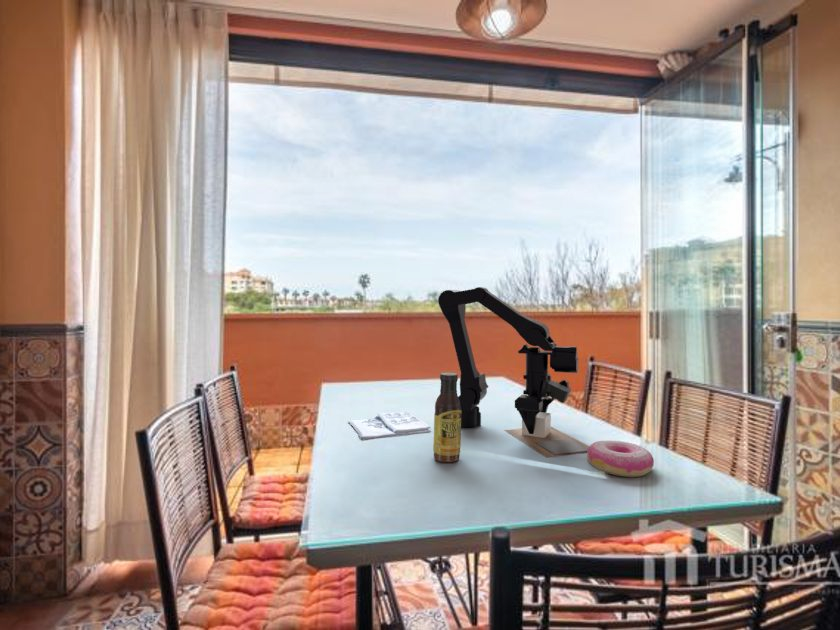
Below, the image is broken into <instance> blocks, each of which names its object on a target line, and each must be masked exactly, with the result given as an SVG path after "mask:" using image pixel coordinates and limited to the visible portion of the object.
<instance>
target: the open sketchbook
mask: <svg viewBox="0 0 840 630" xmlns="http://www.w3.org/2000/svg"><path fill="white" fill-rule="evenodd" d="M348 422H349V423H350V424H351V425H352V426H353V427H352V428H353V429H354V430H355V432H356V433H357V434H358V437H359V436H360V437H359V439H360V440H362V439H364V440H371V438H372V439H379V438H389V437H397V435H399V436H408V435H415V434H417V435H418V434H427V433H431V430H430V429H431V425H429V424H427V423H426V422H424V421H422V420H421V419H419V418H417V417H416V416H415V415H413V414H411V413H410V412H407V411H406V412H405V411H403V412H402V411H401V412H391V413H387V412H386V413H377V415H376V416H375V417H374V418H369V419H368V418H367V419H359V420H355V419H350V420H348V421H347V423H348ZM349 423H348V424H349ZM350 424H349V425H350ZM351 425H350V426H351ZM382 425H386V426H385V427H384V426H383V427H384V428H383V427H381V426H382ZM386 427H387V428H386Z"/></svg>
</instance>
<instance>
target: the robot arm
mask: <svg viewBox="0 0 840 630" xmlns="http://www.w3.org/2000/svg"><path fill="white" fill-rule="evenodd" d="M437 301H438V302H437V303H438V305H439V309H440V311H441V312H442V316H444V318H445V319H446V321H447V323H448V324H449V330H450V333H451V337H452V341H453V345H454V349H455V353H456V359H457V362H458V367H459V371H460V377H459V393H460V395H459V396H458V398H459V401H460V406H461V429H466V430H467V429H470V430H471V429H475V428H477V427H481V426H482V413H481V412H480V407H479V406H478V405H480V403H481V400H483V399H484V398H485V397H486V395H487V393H488V391H487V389H488V388H489V385H488V384H487V379H486V374H485V373H481V374H480V372H479V370H478V369H477V366H476V361H475V357H474V354H473V349H472V345H471V342H470V337H469V336H470V335H469V333H468V329H467V325H466V320H465V319H466V305H470V304H473V303H479V304H480V305H482V306H483V307H484V308H486V309H487V310H488V311H490V312H491V313H493V314H495V315H496V316H497V317H498V318H500V319H501V320H503V321H504V322H506V323H507V324H509V325H510V326H512V328H513V329H514V330H515V331H516V333H518V336H520V337H521V338H522V339H523V340H524V341H525V342H526V343H524V344H523V345H522V347H521V348H520V349H519V350H518V351H517V353H518V354H523V355H524V354H525V374H523V380H525V389H524V390H523V394H521V395H519V396H518V397H517V398H516V399H515V400H514V408H515V409H516V411H518V413H519V415H520V417H521V420H522V419H523V421H524V423H525V426H526V428H527V430H528V432H529V434H534V429H535V423H536V417H537V414H538V413H539V412H543V413H548V412H547V411H548V408H549V405H550V404H551V403H553V401H555V400H557V401H558V402H560V403H562V404H563V403H566V401H568V398H569V395H570V393H571V391H572V388H571V387H570V384H569V381H567V380H565V379H562V380H561V381H560V382H558V381H557V380H556V381H554V380H552V375H551V374H550V373H549V368H551V370H553V372H554V373H570V374H578V371H579V357H578V356H579V355H578V347H577V346H574V345H571V346H561V345H560V346H559V345H558V344H556V342H555V341H554V339H553V338H552V337H551V335H550V329H549V327H548V326H547V325H546V324H544V323H543V322H540V321H539V320H536V319H534V318H531V317H529V316H526V315H524V314H523V313H521V312H519V311H518V310H516V309H515V308H514V307H512V306H510V305H509V304H508V303H507V302H505V301H503V300H502V299H500V297H498V296H496V295H495V294H493V293H492V292H491V291H490V290H488V289H487V288H486V287H484V286H483V287H482V286H481V287H475V288H471V289H466V290H458V289H445V290H443V291H442V292H441V293H440V294H439V296H438V299H437ZM529 345H530V346H529Z"/></svg>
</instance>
